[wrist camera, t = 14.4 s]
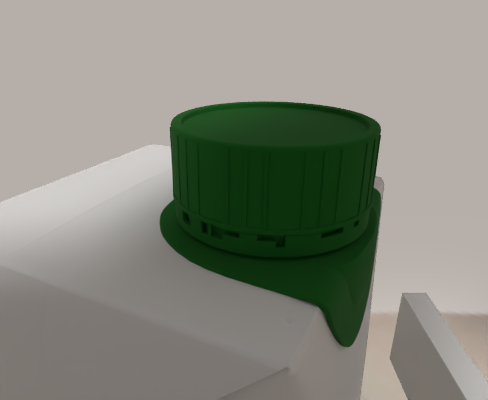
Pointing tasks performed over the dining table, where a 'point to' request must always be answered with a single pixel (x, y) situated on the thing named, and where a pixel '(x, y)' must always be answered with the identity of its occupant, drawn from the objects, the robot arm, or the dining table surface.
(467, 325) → the dining table surface
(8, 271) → the soya milk
